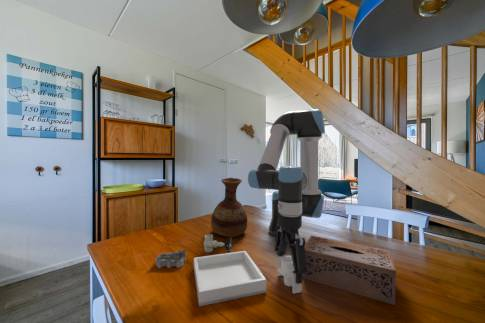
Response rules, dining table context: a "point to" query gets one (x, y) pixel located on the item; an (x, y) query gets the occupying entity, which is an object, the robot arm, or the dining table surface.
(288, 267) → the pipe fitting
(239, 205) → the brown vase
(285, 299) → the dining table surface
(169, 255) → the grey open frame part
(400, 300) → the dining table surface
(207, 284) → the tray
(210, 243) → the valve
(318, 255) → the tissue box cover
